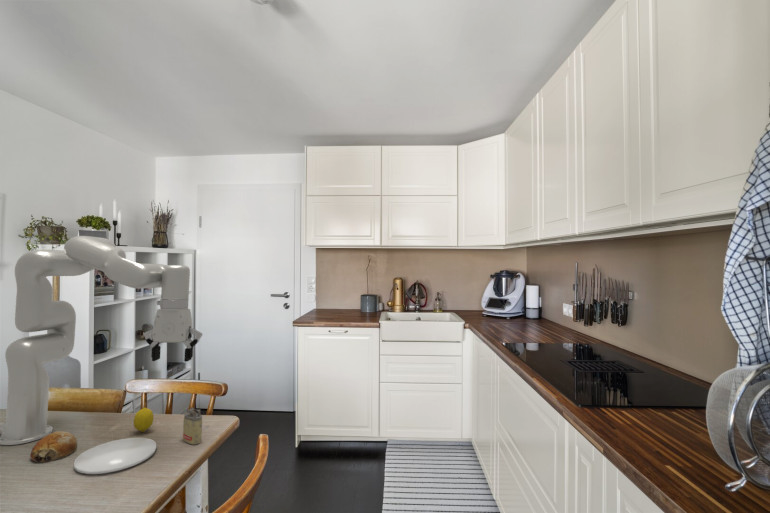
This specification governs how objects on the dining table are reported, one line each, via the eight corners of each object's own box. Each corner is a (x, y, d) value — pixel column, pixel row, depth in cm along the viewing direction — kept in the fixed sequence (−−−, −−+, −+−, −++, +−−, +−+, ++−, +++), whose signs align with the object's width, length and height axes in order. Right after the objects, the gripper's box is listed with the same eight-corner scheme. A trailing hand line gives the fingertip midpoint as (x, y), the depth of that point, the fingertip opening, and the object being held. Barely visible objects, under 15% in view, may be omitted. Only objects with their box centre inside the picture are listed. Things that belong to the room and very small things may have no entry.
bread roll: (77, 465, 108) (91, 435, 112) (40, 465, 99) (56, 433, 103) (55, 458, 111) (69, 430, 115) (17, 458, 103) (34, 427, 106)
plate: (54, 476, 96) (54, 470, 96) (106, 442, 115) (107, 437, 115) (129, 476, 96) (129, 470, 96) (169, 442, 115) (169, 437, 115)
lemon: (143, 436, 119) (144, 411, 119) (128, 434, 120) (130, 409, 121) (156, 429, 125) (158, 405, 125) (143, 427, 126) (144, 403, 126)
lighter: (180, 440, 117) (181, 408, 118) (191, 435, 121) (193, 404, 121) (193, 446, 114) (194, 413, 114) (204, 441, 117) (206, 409, 117)
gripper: (138, 305, 111) (135, 362, 110) (197, 306, 111) (194, 363, 110) (153, 303, 118) (150, 357, 117) (208, 304, 119) (205, 357, 118)
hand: (172, 360), depth 114 cm, fingers open, 9 cm apart
